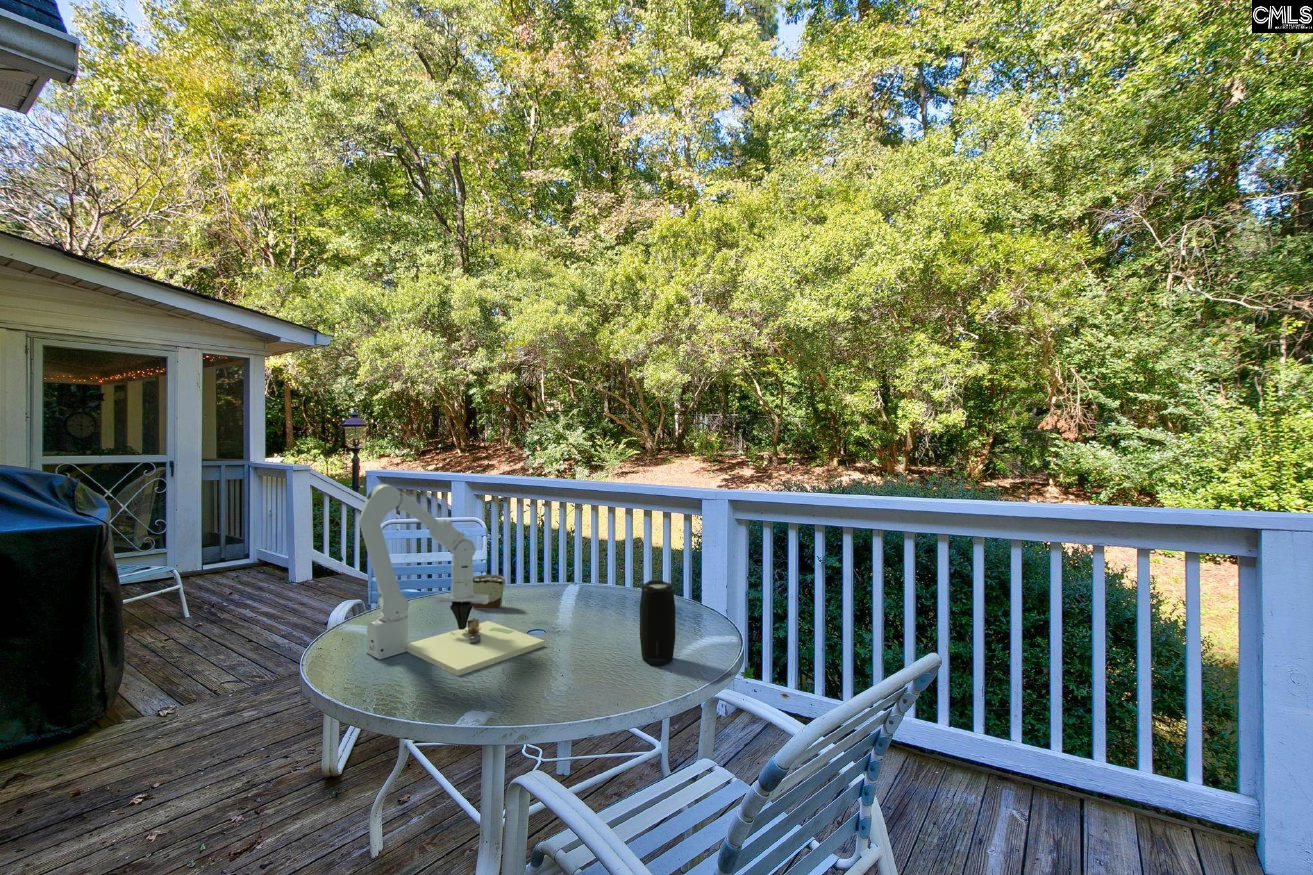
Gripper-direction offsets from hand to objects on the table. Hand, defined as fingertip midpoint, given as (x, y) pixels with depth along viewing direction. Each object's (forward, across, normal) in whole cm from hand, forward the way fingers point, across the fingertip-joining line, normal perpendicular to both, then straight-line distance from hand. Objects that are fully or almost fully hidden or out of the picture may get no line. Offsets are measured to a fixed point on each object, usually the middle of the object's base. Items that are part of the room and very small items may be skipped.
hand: (462, 628), depth 167 cm
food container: (+3, +4, -30) cm, 31 cm away
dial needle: (+1, -5, +3) cm, 6 cm away
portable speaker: (+3, -56, +12) cm, 57 cm away
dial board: (+3, -7, +7) cm, 10 cm away
